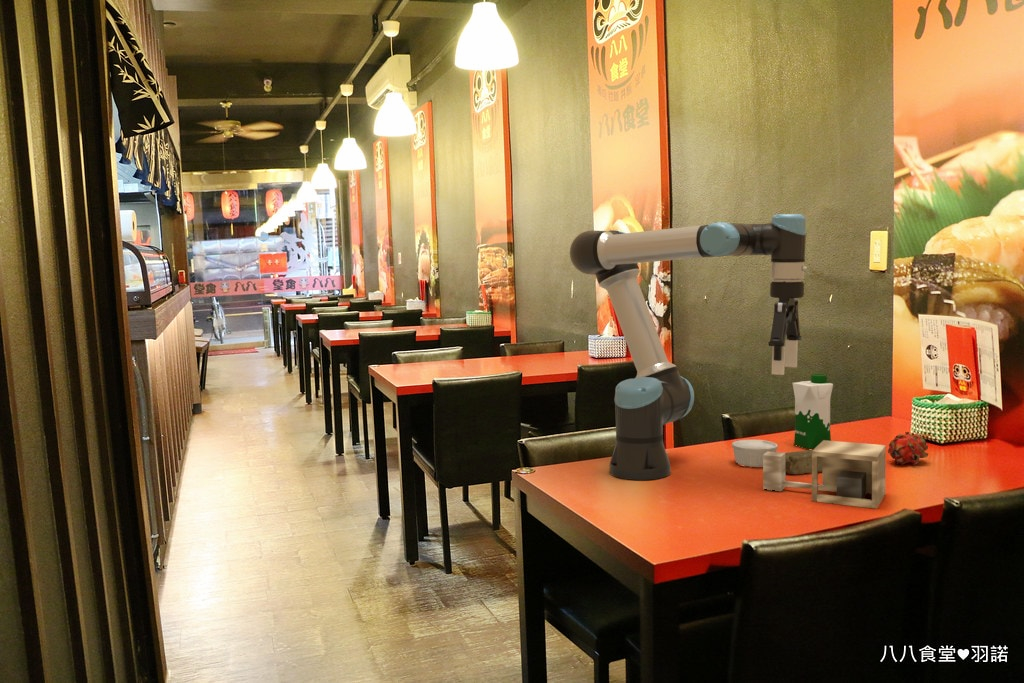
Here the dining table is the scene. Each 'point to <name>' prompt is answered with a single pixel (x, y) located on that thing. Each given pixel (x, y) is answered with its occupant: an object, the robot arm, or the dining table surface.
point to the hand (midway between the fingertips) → (784, 370)
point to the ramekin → (752, 451)
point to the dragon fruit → (907, 448)
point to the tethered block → (775, 480)
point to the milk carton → (812, 411)
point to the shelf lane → (850, 459)
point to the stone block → (801, 462)
